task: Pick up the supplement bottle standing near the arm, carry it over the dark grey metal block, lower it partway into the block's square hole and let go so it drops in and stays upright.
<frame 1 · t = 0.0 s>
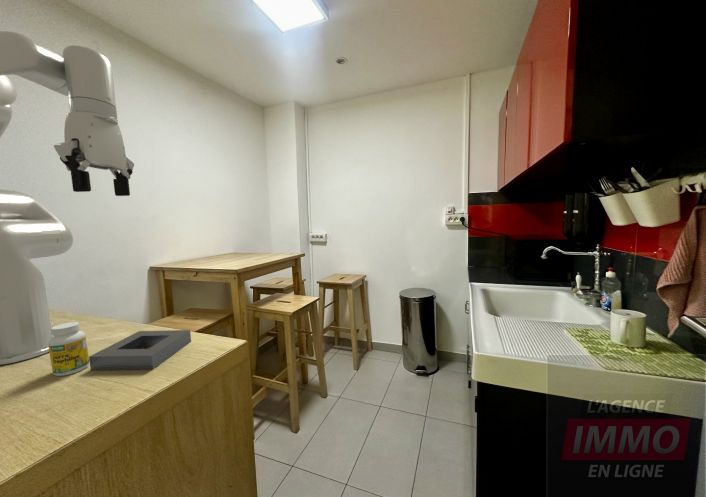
hand: (104, 193, 61), 37 cm above the countertop, tool pointing down, fingers open, 9 cm apart
square hole block: (146, 354, 63), on the countertop
supplement bottle: (72, 370, 57), on the countertop
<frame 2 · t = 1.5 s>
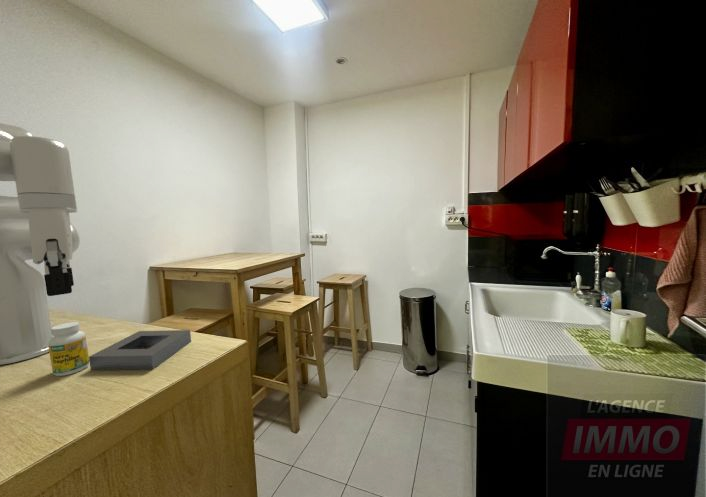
hand: (61, 290, 55), 17 cm above the countertop, tool pointing down, fingers open, 9 cm apart
nothing on the countertop moved.
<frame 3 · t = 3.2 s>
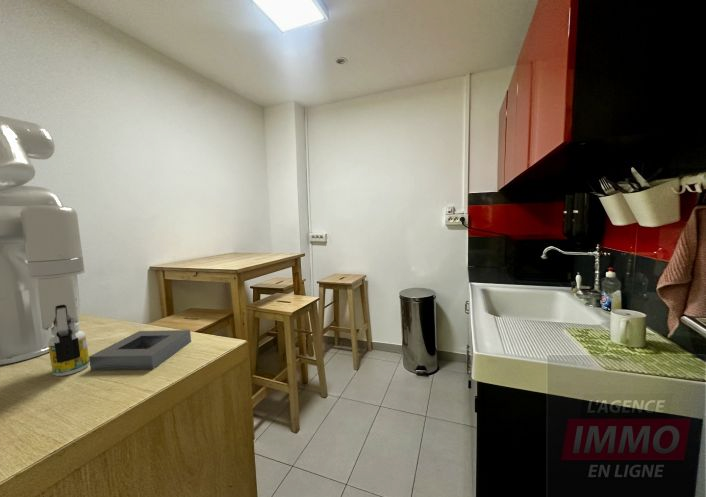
hand: (69, 353, 57), 3 cm above the countertop, tool pointing down, fingers closed on supplement bottle, 5 cm apart
supplement bottle: (72, 370, 57), on the countertop, touching gripper
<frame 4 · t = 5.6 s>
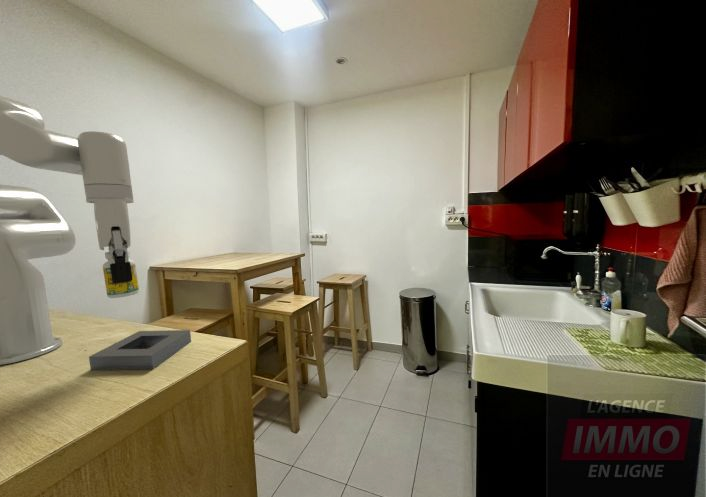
hand: (121, 279, 59), 18 cm above the countertop, tool pointing down, fingers closed on supplement bottle, 5 cm apart
supplement bottle: (123, 295, 60), point 14 cm above the countertop, touching gripper
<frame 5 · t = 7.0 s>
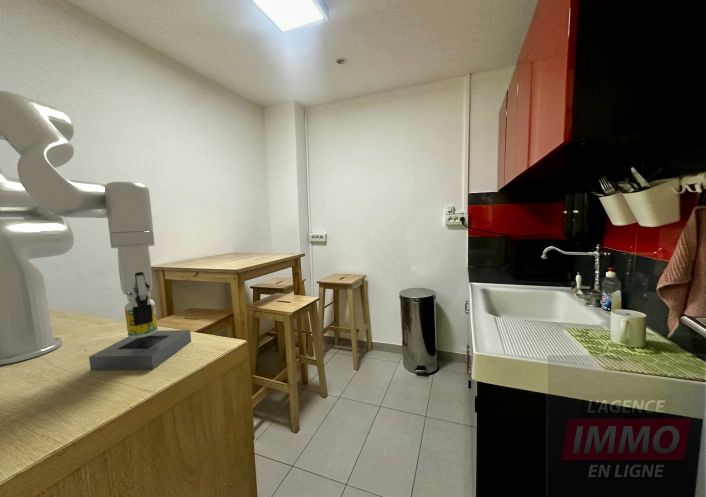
hand: (141, 319, 62), 8 cm above the countertop, tool pointing down, fingers closed on supplement bottle, 5 cm apart
supplement bottle: (143, 334, 62), point 5 cm above the countertop, touching gripper
when the fingers open (4 cm above the countertop, at t = 8.3 s): supplement bottle stays where it is, resting in square hole block.
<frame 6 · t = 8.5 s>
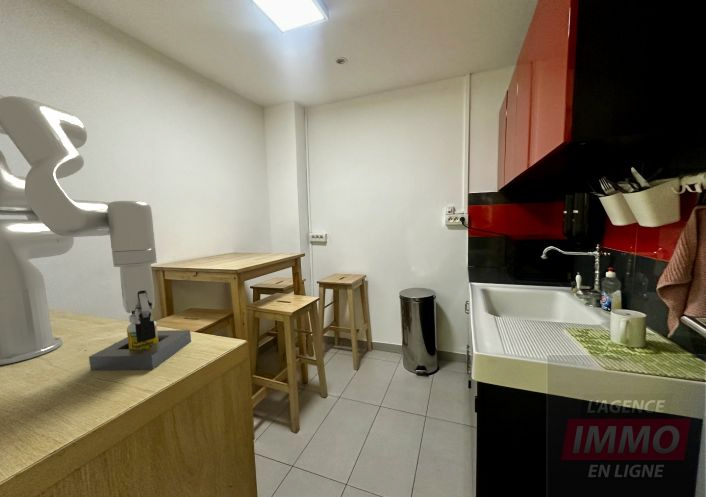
hand: (143, 334, 62), 5 cm above the countertop, tool pointing down, fingers open, 7 cm apart
supplement bottle: (145, 355, 63), resting in square hole block
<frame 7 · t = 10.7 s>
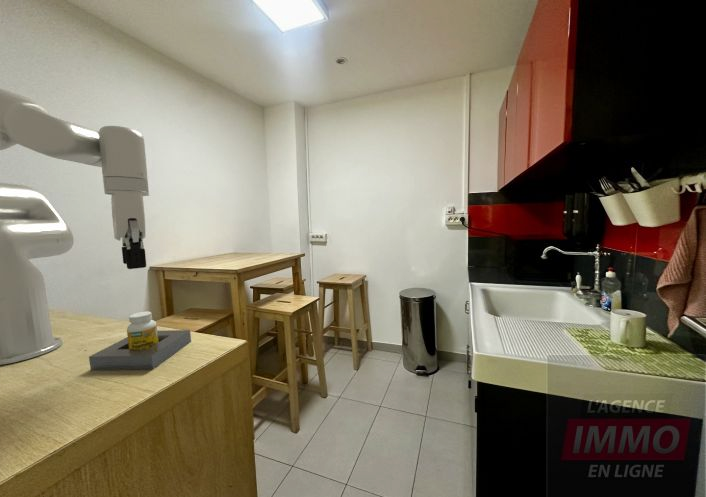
hand: (134, 265, 61), 21 cm above the countertop, tool pointing down, fingers open, 9 cm apart
nothing on the countertop moved.
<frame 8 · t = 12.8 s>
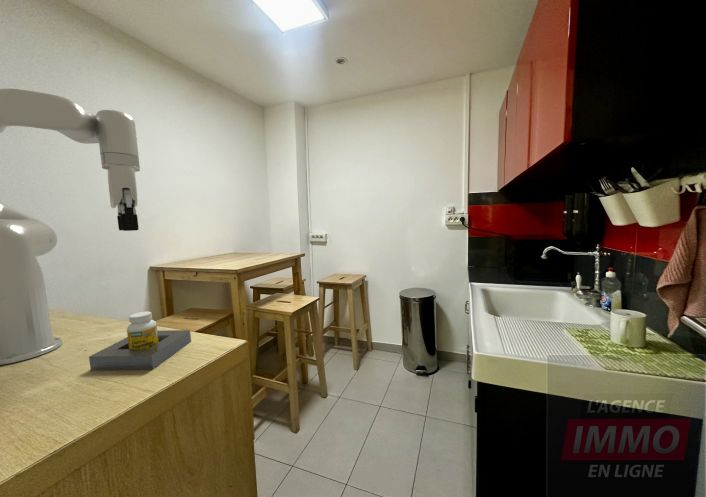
hand: (128, 230, 72), 28 cm above the countertop, tool pointing down, fingers open, 9 cm apart
nothing on the countertop moved.
at the end: supplement bottle 0.2 cm off-centre on the square hole block, point 0.0 cm above the square hole block's base; supplement bottle tilted 0°; the gripper is holding nothing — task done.
